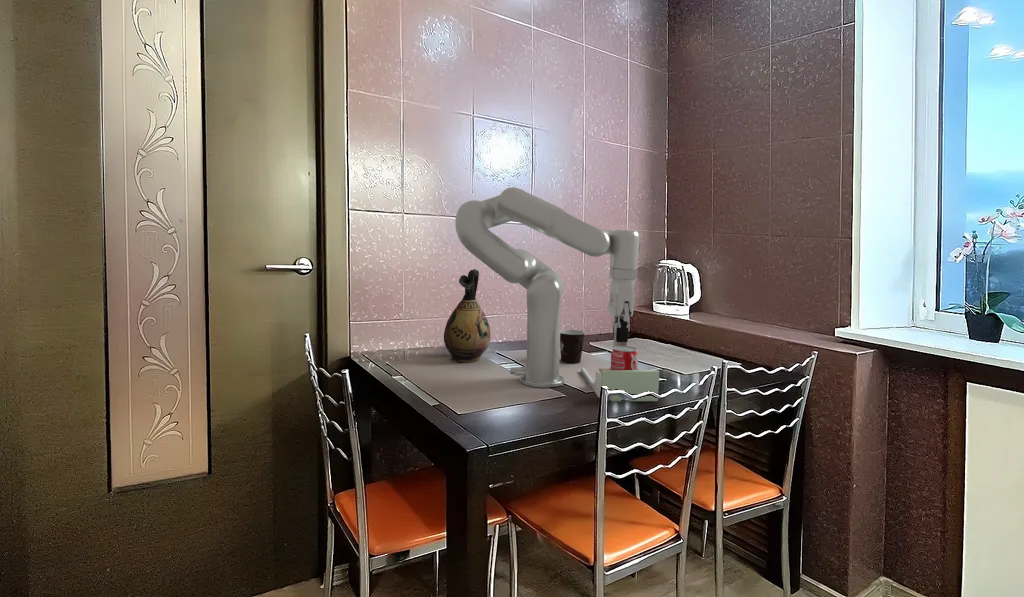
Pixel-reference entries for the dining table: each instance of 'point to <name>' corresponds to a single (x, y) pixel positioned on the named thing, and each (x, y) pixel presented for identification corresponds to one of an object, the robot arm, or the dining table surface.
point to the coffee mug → (571, 346)
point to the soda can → (624, 358)
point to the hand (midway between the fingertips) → (620, 339)
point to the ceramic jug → (467, 325)
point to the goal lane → (626, 382)
